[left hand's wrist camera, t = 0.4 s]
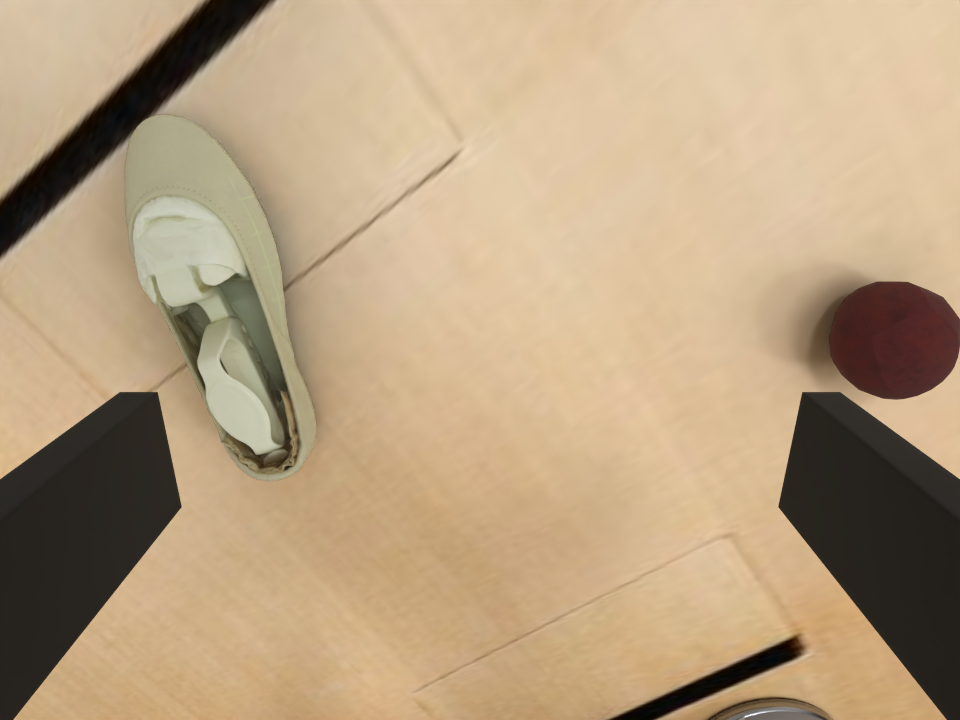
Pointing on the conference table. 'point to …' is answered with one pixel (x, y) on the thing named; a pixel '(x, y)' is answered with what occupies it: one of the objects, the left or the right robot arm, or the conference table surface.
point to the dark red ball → (895, 339)
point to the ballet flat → (218, 291)
